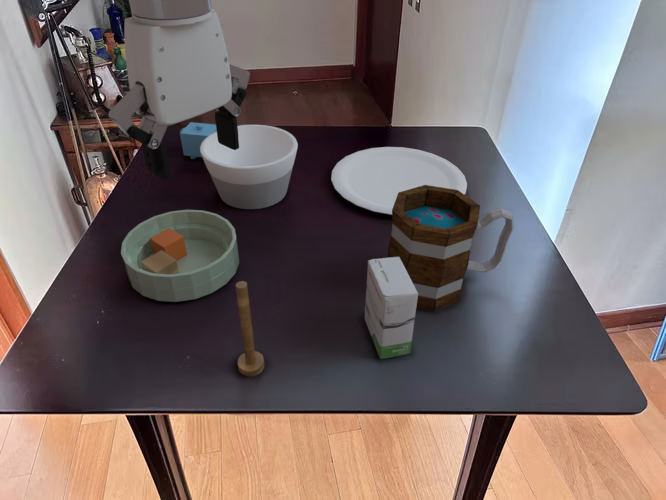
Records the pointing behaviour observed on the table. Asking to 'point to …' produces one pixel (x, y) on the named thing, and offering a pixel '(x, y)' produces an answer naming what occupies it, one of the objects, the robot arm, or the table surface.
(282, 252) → the table surface
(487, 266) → the mug
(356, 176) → the plate
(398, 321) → the ink box
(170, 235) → the orange block
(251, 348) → the stirrer
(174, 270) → the maple block
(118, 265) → the table surface
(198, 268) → the stir bowl
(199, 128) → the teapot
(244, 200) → the bowl
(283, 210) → the table surface
